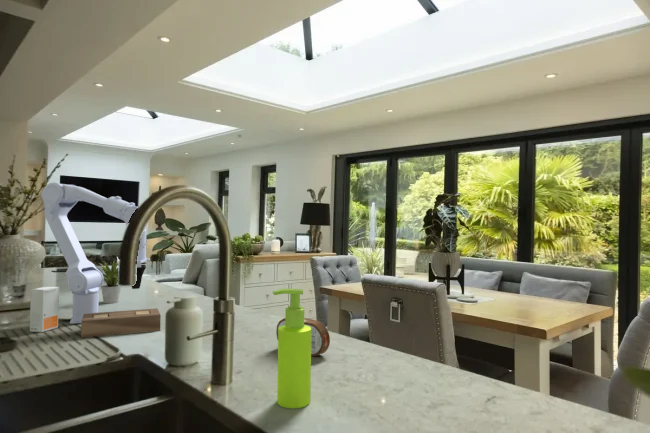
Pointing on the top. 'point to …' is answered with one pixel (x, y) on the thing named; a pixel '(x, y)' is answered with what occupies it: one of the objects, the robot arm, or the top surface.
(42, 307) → the skincare box
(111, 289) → the house plant
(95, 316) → the near maple peg
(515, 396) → the top surface
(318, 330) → the tin
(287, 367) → the soap dispenser
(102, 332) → the walnut block
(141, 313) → the far maple peg
